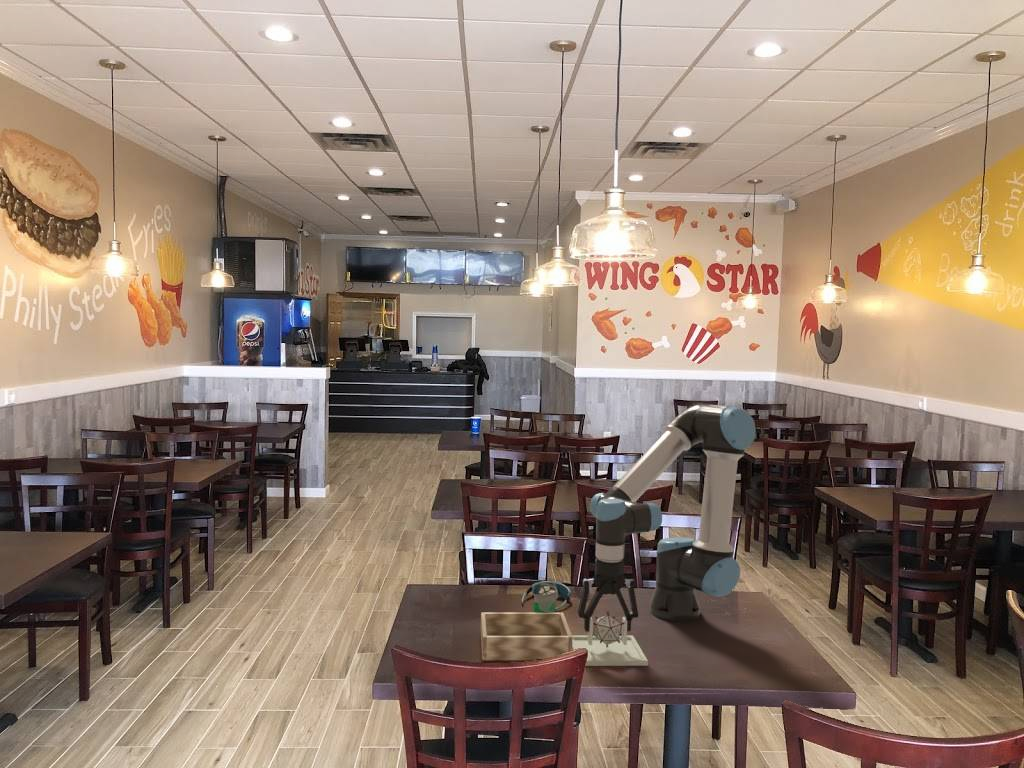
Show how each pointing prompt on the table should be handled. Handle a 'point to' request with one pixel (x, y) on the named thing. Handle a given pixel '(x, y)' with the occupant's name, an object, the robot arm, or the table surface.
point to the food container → (545, 599)
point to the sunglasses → (561, 588)
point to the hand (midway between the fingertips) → (607, 642)
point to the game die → (607, 629)
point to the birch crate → (524, 644)
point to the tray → (611, 652)
